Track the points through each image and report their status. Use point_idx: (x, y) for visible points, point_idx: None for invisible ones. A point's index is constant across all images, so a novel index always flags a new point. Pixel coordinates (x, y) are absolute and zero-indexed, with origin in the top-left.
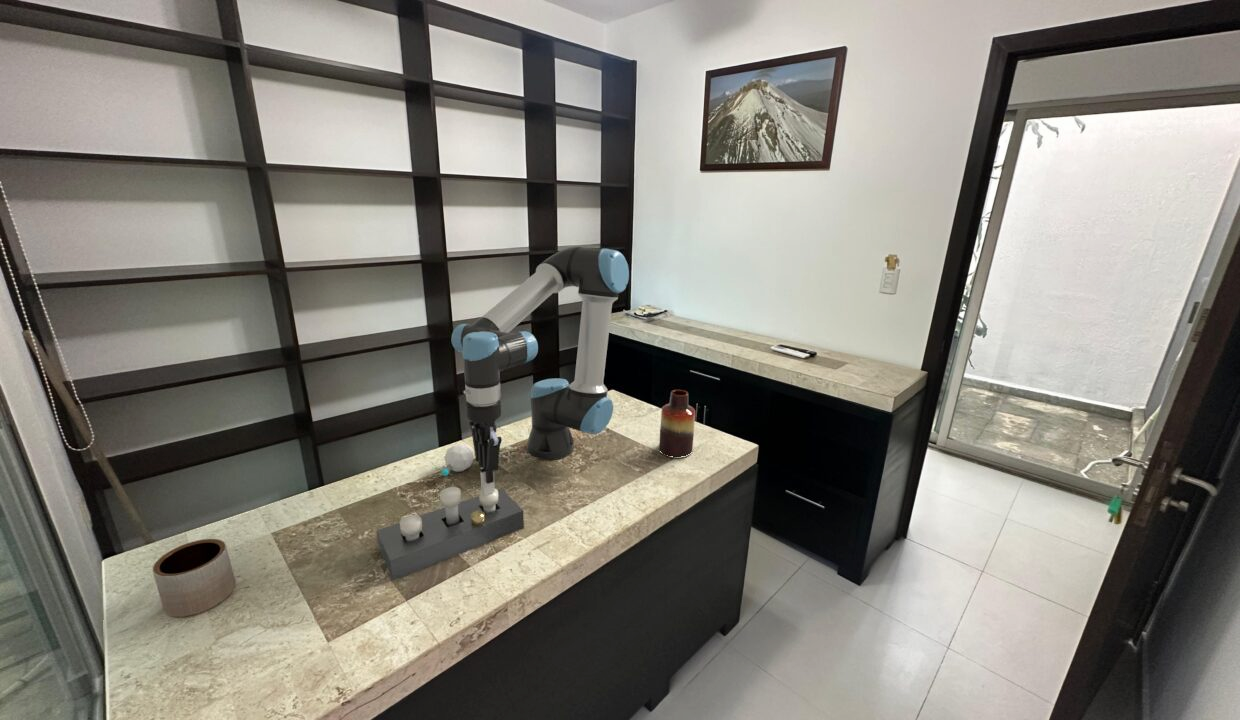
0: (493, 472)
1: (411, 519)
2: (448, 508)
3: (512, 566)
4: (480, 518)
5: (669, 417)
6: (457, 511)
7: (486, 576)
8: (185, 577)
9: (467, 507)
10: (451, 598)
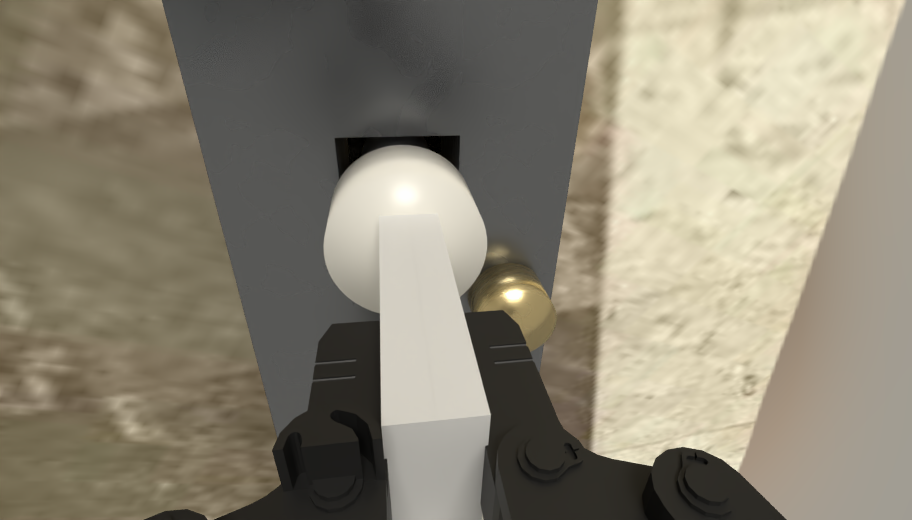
0: (475, 358)
1: None
2: None
3: (724, 182)
4: (555, 318)
5: None
6: None
7: (685, 278)
8: None
9: (329, 303)
10: (675, 378)
